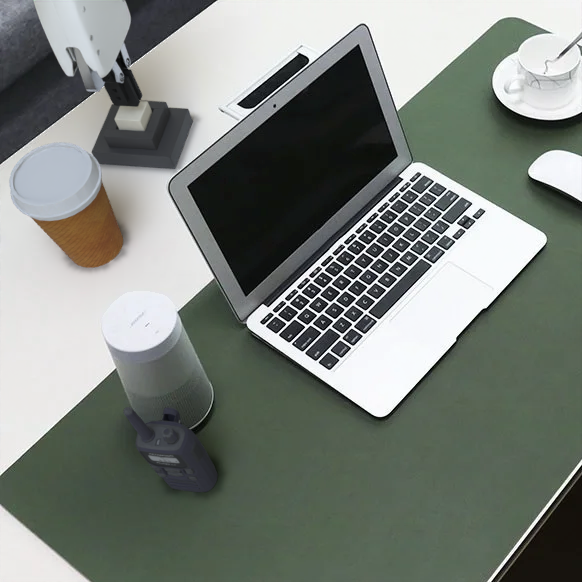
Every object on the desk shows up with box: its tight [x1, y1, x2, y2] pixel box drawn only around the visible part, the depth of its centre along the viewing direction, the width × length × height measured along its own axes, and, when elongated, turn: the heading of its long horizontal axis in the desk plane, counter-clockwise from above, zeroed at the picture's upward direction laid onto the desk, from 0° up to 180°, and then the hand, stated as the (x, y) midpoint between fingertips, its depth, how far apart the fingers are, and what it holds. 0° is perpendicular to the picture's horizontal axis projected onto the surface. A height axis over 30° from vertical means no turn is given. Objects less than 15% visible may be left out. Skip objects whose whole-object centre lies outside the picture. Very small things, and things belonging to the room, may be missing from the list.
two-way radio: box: [122, 406, 219, 493], centre depth 75 cm, size 6×4×15 cm
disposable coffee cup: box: [8, 141, 124, 269], centre depth 91 cm, size 10×10×12 cm
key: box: [115, 100, 152, 131], centre depth 99 cm, size 3×3×2 cm
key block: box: [91, 99, 194, 170], centre depth 101 cm, size 10×8×4 cm
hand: (128, 100), depth 97 cm, fingers closed
